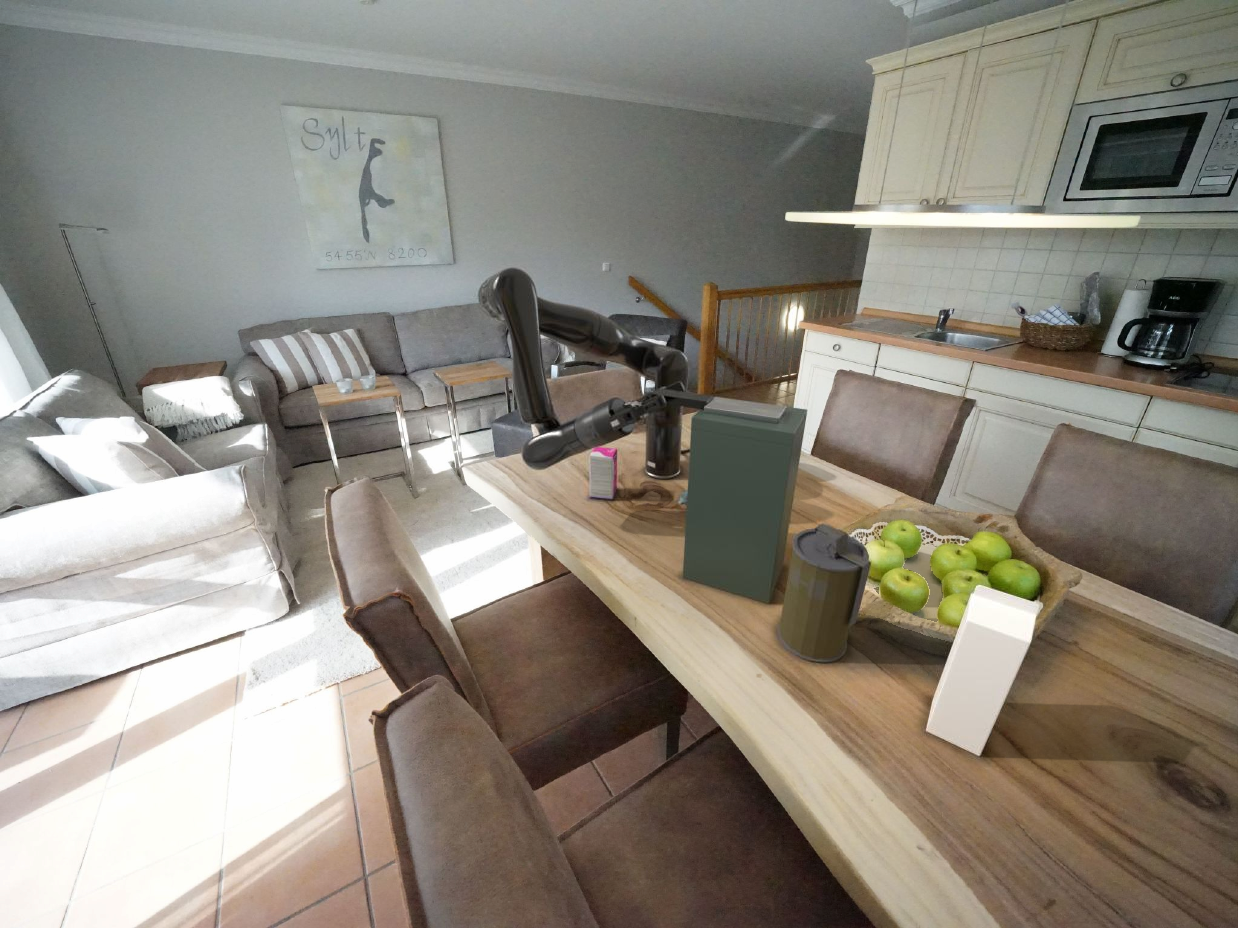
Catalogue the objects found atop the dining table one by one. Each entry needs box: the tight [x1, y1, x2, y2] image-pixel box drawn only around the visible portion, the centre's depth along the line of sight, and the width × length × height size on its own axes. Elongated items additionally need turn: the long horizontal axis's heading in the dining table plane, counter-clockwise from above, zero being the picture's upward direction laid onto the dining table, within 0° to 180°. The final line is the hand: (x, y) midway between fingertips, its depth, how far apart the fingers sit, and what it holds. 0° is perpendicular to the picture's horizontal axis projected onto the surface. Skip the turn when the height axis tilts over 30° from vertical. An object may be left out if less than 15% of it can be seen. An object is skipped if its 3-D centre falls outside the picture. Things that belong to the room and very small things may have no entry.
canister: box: [777, 523, 872, 663], centre depth 77 cm, size 11×10×20 cm
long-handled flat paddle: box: [651, 388, 787, 424], centre depth 85 cm, size 6×22×2 cm, turn 63°
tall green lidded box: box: [682, 396, 808, 605], centre depth 90 cm, size 12×16×32 cm
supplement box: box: [588, 446, 618, 501], centre depth 122 cm, size 6×6×12 cm
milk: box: [925, 584, 1041, 757], centre depth 62 cm, size 6×6×22 cm
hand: (674, 392), depth 88 cm, fingers open, 8 cm apart
